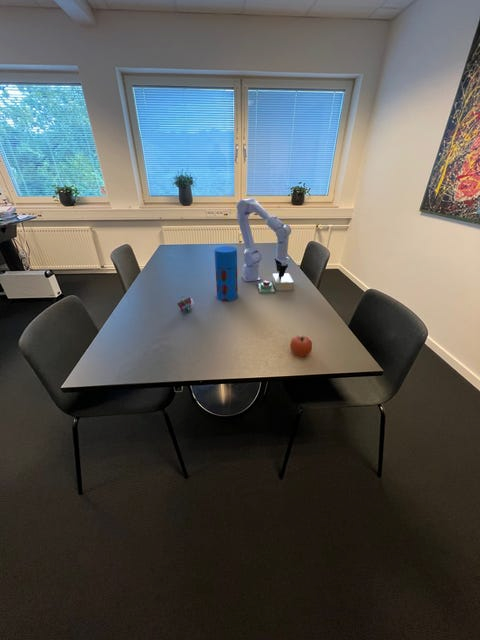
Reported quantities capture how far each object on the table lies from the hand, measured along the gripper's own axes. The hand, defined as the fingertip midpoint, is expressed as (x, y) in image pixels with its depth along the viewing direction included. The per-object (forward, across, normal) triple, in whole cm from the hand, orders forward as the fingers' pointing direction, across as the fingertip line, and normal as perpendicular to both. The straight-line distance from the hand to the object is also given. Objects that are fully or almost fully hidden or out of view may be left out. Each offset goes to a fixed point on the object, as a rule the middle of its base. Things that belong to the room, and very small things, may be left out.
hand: (280, 273), depth 143 cm
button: (+4, -4, +8) cm, 10 cm away
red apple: (+7, -61, +3) cm, 61 cm away
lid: (+3, 0, -2) cm, 3 cm away
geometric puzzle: (+4, -26, +49) cm, 56 cm away
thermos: (+7, -12, +30) cm, 33 cm away
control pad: (+7, -4, +8) cm, 11 cm away
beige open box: (+7, 0, -2) cm, 7 cm away
